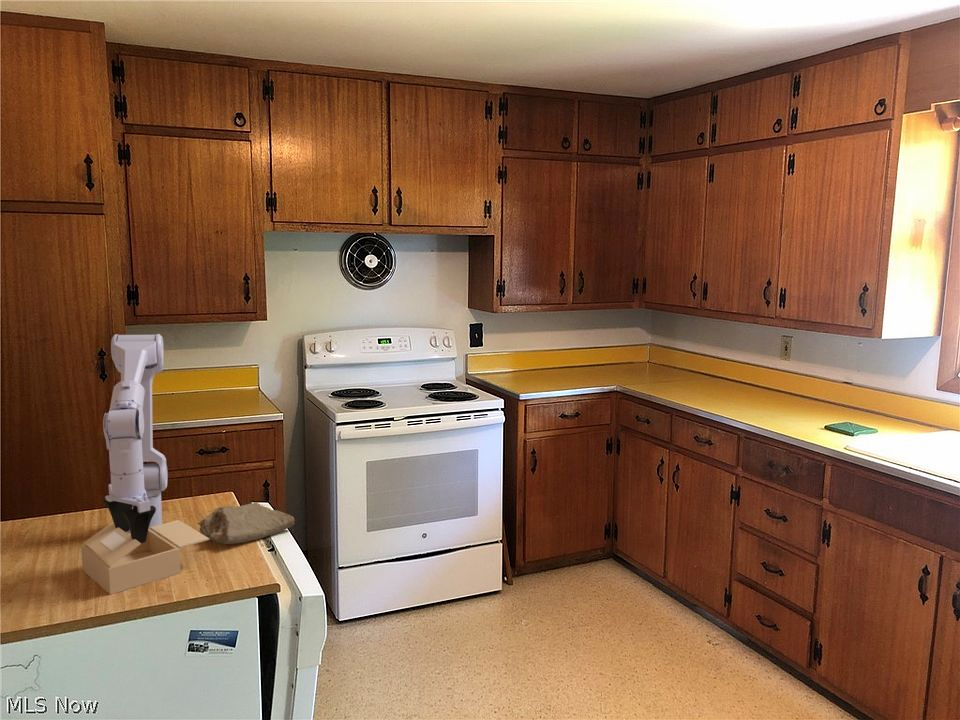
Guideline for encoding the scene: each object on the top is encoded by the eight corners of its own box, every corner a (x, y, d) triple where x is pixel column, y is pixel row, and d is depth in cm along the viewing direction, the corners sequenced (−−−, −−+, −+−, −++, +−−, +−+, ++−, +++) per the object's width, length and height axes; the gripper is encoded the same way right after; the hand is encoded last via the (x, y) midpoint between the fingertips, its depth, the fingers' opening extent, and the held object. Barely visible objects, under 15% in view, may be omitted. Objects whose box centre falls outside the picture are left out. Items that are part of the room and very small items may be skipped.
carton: (82, 570, 143) (81, 544, 143) (179, 543, 157) (178, 519, 157) (110, 594, 134) (108, 567, 133) (210, 563, 148) (209, 538, 147)
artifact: (187, 537, 163) (222, 560, 153) (183, 506, 161) (219, 528, 151) (259, 510, 176) (296, 530, 166) (257, 481, 174) (294, 499, 164)
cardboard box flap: (84, 543, 143) (83, 542, 143) (112, 523, 146) (111, 522, 146) (111, 565, 134) (110, 564, 134) (141, 543, 137) (140, 542, 137)
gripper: (90, 466, 142) (95, 532, 144) (120, 484, 133) (125, 554, 135) (127, 458, 147) (131, 522, 150) (159, 475, 138) (163, 543, 140)
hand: (131, 537), depth 143 cm, fingers open, 7 cm apart
